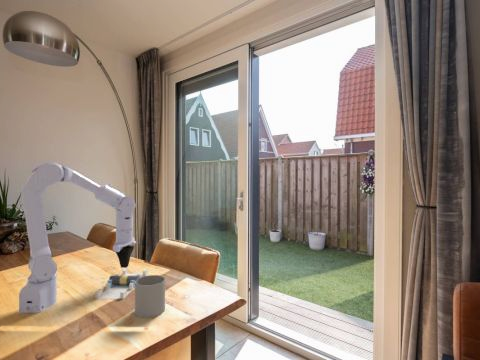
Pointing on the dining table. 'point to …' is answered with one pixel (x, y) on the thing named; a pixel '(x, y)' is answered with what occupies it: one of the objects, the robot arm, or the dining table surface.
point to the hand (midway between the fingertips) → (124, 267)
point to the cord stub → (123, 279)
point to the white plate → (118, 287)
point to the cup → (149, 296)
